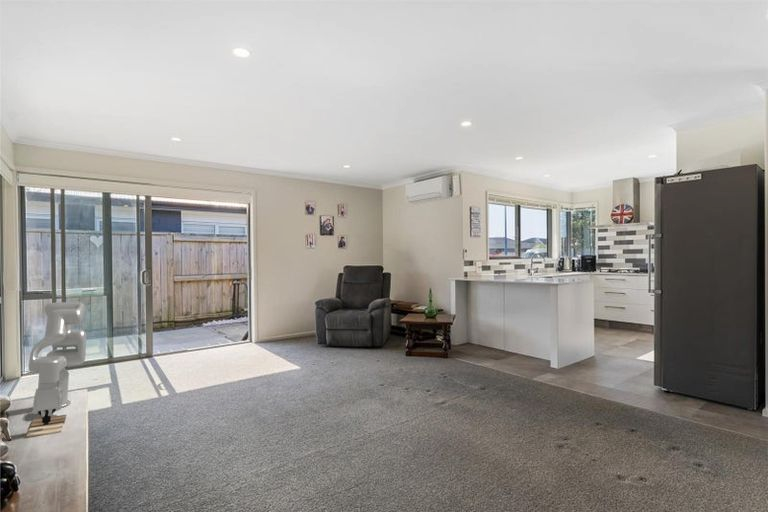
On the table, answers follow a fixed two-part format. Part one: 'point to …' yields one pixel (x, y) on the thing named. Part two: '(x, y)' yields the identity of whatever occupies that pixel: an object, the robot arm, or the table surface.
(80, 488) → the table surface
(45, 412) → the white curved device
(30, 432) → the oak plank
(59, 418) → the walnut board
